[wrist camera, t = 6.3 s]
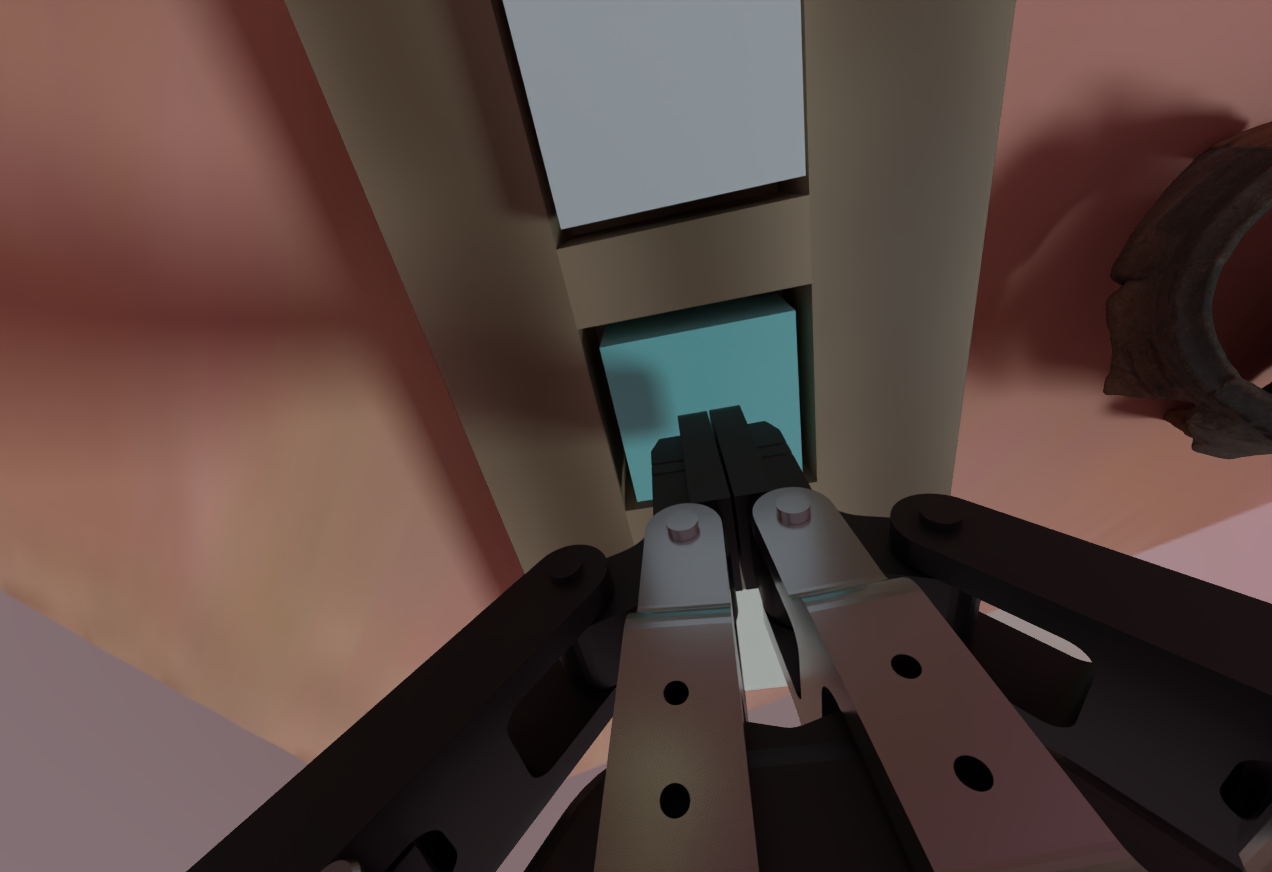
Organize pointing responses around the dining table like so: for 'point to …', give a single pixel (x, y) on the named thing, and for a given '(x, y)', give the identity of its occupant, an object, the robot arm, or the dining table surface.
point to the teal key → (702, 372)
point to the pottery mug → (1193, 299)
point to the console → (680, 247)
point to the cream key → (756, 643)
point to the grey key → (660, 99)
